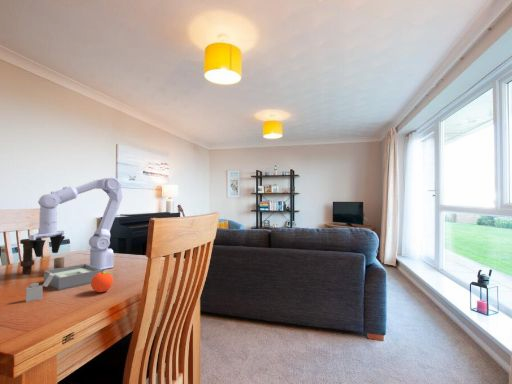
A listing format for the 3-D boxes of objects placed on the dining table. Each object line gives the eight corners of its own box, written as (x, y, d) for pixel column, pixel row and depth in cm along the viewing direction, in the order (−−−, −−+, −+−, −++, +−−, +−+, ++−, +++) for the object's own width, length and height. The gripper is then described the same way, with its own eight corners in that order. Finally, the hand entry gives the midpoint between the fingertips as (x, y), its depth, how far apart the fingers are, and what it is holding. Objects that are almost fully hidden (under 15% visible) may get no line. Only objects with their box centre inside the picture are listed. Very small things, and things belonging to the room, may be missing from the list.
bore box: (85, 273, 116) (86, 263, 116) (102, 280, 106) (102, 269, 107) (43, 282, 104) (44, 270, 104) (58, 290, 94) (59, 278, 94)
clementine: (111, 286, 100) (111, 267, 100) (119, 290, 95) (119, 271, 96) (87, 292, 94) (88, 272, 94) (94, 296, 89) (95, 275, 89)
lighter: (25, 302, 84) (26, 276, 84) (25, 300, 85) (26, 275, 85) (53, 297, 88) (54, 273, 89) (53, 295, 90) (54, 272, 90)
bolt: (24, 275, 111) (25, 240, 112) (15, 274, 112) (16, 240, 113) (38, 272, 117) (39, 238, 118) (29, 271, 118) (30, 238, 119)
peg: (62, 272, 117) (62, 257, 117) (65, 274, 115) (65, 258, 115) (52, 274, 114) (52, 258, 114) (55, 276, 112) (55, 259, 112)
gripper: (54, 220, 118) (53, 251, 118) (22, 224, 104) (21, 258, 103) (68, 221, 117) (67, 251, 117) (38, 224, 103) (37, 258, 103)
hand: (47, 254), depth 110 cm, fingers open, 7 cm apart
